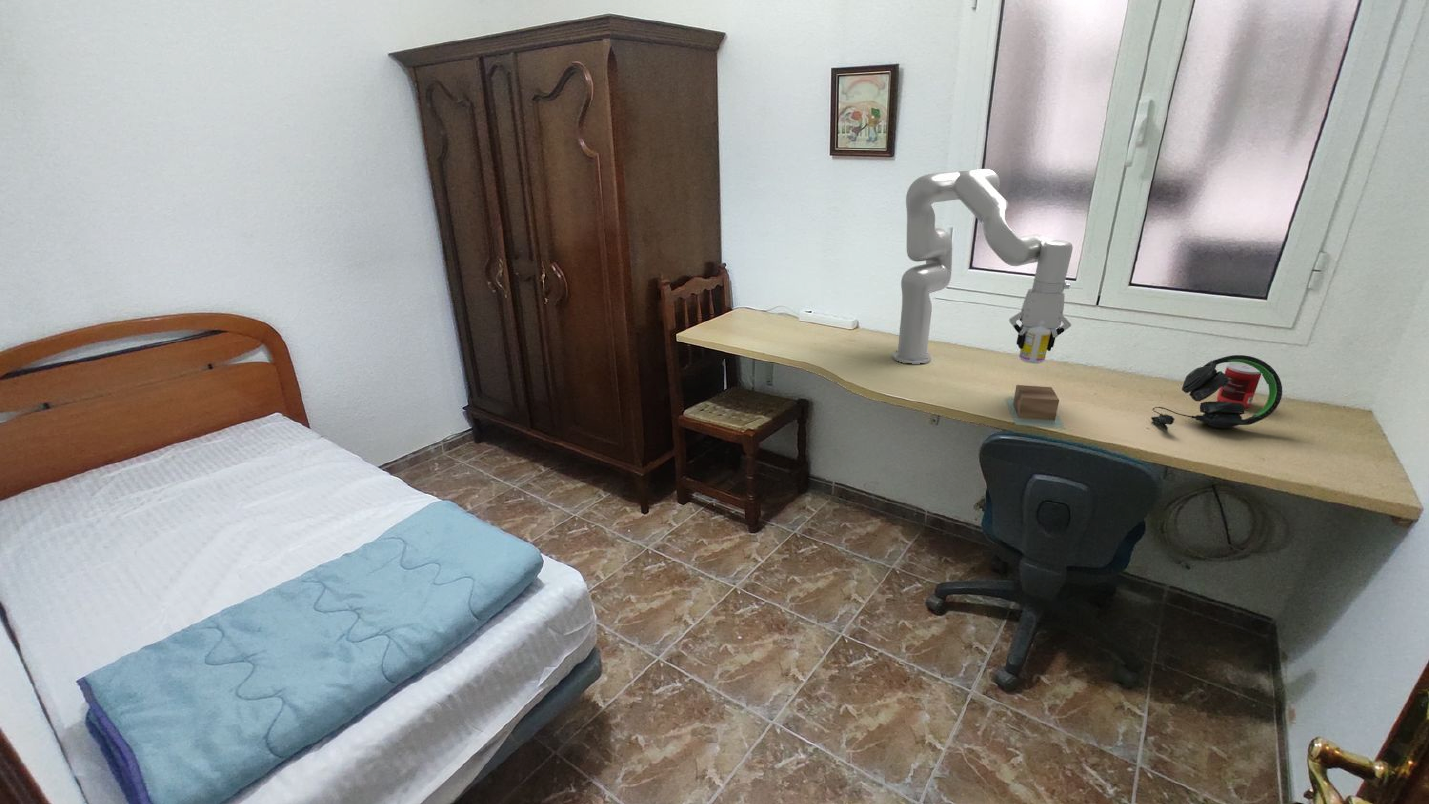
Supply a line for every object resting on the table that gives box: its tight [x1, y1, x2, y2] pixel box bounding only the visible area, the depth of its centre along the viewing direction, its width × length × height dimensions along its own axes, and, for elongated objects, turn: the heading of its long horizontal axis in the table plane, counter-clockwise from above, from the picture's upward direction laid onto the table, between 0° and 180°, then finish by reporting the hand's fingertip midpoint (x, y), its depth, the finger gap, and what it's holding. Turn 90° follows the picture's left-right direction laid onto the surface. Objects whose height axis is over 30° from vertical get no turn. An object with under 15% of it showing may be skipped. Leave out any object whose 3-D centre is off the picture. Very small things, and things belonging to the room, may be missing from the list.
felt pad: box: [1004, 397, 1066, 429], centre depth 176 cm, size 18×12×1 cm, turn 166°
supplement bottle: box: [1019, 320, 1051, 365], centre depth 181 cm, size 7×7×13 cm
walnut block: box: [1013, 384, 1060, 421], centre depth 175 cm, size 9×9×6 cm
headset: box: [1150, 354, 1283, 432], centre depth 164 cm, size 18×14×29 cm
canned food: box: [1216, 362, 1262, 409], centre depth 177 cm, size 8×8×11 cm
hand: (1033, 347), depth 182 cm, fingers closed on supplement bottle, 6 cm apart
